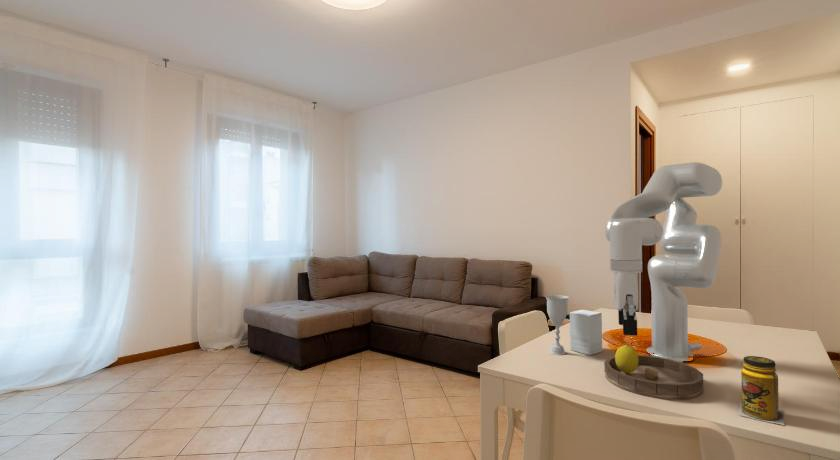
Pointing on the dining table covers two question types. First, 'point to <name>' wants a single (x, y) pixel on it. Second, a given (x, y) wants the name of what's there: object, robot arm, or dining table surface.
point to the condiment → (760, 390)
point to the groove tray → (662, 378)
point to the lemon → (626, 359)
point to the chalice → (557, 318)
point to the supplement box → (586, 331)
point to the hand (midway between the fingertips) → (627, 329)
